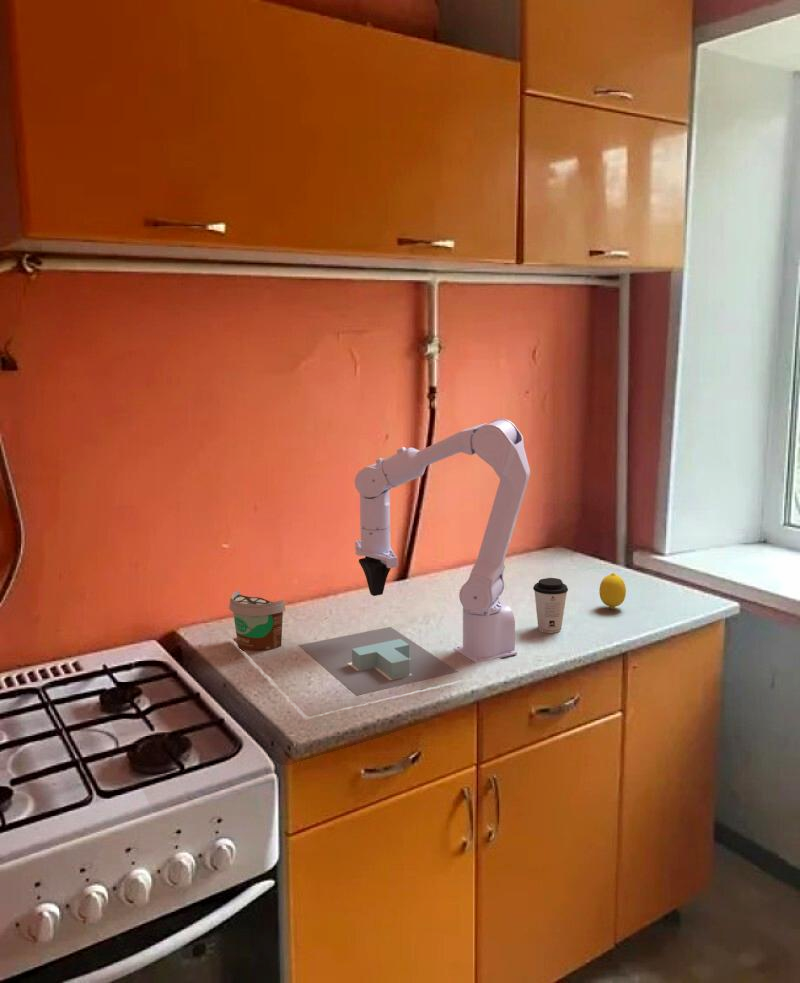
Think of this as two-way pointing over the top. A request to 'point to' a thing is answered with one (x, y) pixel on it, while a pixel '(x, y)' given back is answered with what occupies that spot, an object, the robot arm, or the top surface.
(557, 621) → the coffee cup
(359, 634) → the mat
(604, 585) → the lemon
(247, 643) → the food container
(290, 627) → the top surface
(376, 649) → the t block
